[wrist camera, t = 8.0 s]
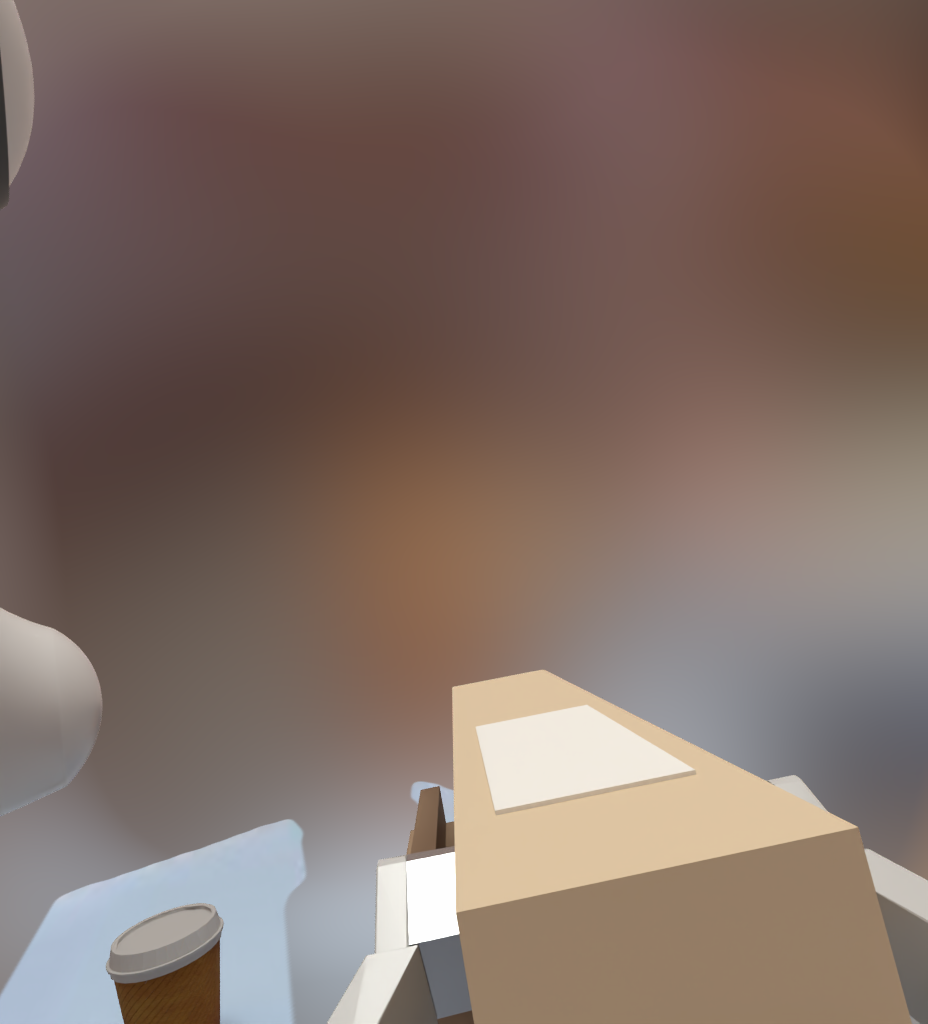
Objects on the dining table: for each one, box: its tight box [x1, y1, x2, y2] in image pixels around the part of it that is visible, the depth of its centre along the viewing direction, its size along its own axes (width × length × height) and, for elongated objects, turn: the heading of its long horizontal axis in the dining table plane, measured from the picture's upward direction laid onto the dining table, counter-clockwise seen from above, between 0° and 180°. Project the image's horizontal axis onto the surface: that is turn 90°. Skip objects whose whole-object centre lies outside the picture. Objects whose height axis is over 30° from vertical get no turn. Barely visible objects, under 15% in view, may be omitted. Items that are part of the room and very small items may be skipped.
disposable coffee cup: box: [106, 903, 223, 1024], centre depth 55 cm, size 10×10×12 cm
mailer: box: [452, 670, 912, 1024], centre depth 18 cm, size 4×24×4 cm, turn 1°
